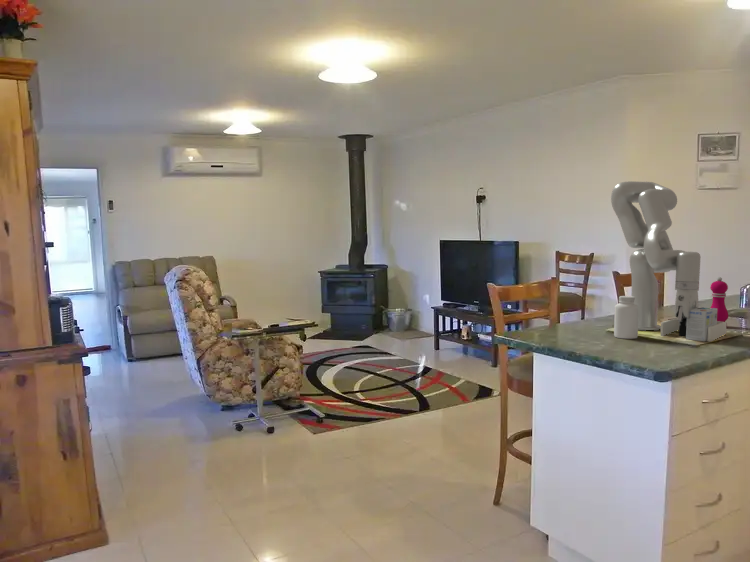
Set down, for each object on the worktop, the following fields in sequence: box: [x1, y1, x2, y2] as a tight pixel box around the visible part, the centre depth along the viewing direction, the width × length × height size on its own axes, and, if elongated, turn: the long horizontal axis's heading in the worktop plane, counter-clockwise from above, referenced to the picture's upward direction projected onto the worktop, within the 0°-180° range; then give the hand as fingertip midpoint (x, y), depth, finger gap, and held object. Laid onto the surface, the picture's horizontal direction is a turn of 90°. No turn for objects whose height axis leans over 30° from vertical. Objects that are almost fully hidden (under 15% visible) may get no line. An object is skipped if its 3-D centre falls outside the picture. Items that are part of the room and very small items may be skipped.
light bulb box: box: [685, 306, 717, 342], centre depth 206 cm, size 11×7×11 cm, turn 131°
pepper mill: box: [709, 276, 729, 328], centre depth 231 cm, size 7×7×20 cm
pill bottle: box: [613, 295, 639, 340], centre depth 210 cm, size 8×8×15 cm
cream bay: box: [660, 317, 727, 343], centre depth 213 cm, size 17×17×5 cm
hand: (684, 336), depth 209 cm, fingers closed
